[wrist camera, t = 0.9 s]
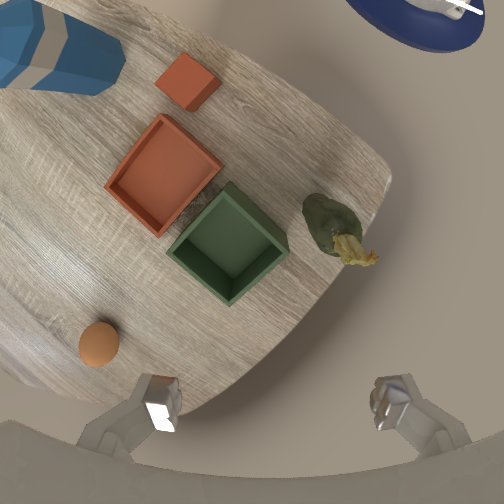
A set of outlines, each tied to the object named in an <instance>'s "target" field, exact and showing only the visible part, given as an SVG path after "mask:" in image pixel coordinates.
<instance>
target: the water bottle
mask: <svg viewBox="0 0 504 504" xmlns="http://www.w3.org/2000/svg"><path fill="white" fill-rule="evenodd" d="M125 61H126V60H125V56H124V53H123V50H122V47H121V44H120V41H119V40H117V39H116V38H114V37H112V36H110V35H108V34H106V33H104V32H102V31H100V30H98V29H96V28H94V27H92V26H90V25H88V24H86V23H84V22H82V21H80V20H78V19H76V18H74V17H72V16H69V15H67V14H65V13H63V12H61V11H58V10H56V9H54V8H51V7H49V6H47V5H44V4H42V3H39V2H37V1H34V0H10V1H8V2H6V3H4V4H2V5H0V88H12V89H32V90H46V91H57V92H67V93H76V94H84V95H91V96H95V95H97V94H98V93H100V92H102V91H103V90H105V89H107V88H108V87H110V86H112V85H114V84H115V82H116V80H117V78H118V76H119V74H120V71H121V69H122V67H123V65H124V63H125Z"/></svg>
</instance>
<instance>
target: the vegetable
mask: <svg viewBox="0 0 504 504" xmlns="http://www.w3.org/2000/svg"><path fill="white" fill-rule="evenodd" d="M302 213H303V215H304V217H305V221H306V223H307V225H308V229H309V231H310V233H311V235H312V237H313V239H314V240H315V242H316V244H317V245H318V247H319V248H320V250H321V251H323V252H324V253H326V254H329V255H331V256H334V257H341V261H342V262H343V263H344V264H351V265H354V264H356V263H357V264H360V265H362V266H369V265H370V264H372V265H373V264H374V263H375V262H377V259H378V257H377V256H376V255H375V253H374V250H373V251H372V252H371V254H370V255H369V256H368V255H366V254H365V252H364V250H363V247H362V246H361V241H362V226H361V223H360V221H359V219H358V218H357V216H356V215H355V213H354V212H353V211H352V210H351V209H350V208H348V207H347V206H345V205H343V204H341V203H339V202H337V201H335V200H333V199H329V198H328V197H327V196H325V195H323V194H320V193H315V194H311V195H309V196H308V197H307V198H306V199H305V200H304V202H303V209H302Z"/></svg>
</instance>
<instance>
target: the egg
mask: <svg viewBox="0 0 504 504" xmlns="http://www.w3.org/2000/svg"><path fill="white" fill-rule="evenodd" d="M118 348H119V337H118V334H117V332H116V330H115V329H114V328H113V327H112V326H111V325H109V324H107V323H104V322H97V323H93V324H91V325H90V326H88V327H87V328H86V329H85V330H84V332H83V333H82V335H81V337H80V341H79V354H80V357H81V359H82V361H83V362H84V363H85V364H86V365H88V366H90V367H100V366H103V365H105V364H107V363H109V362H110V361H111V360H112V359H113V358H114V357H115V355H116V353H117V351H118Z"/></svg>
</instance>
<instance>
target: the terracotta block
mask: <svg viewBox="0 0 504 504" xmlns="http://www.w3.org/2000/svg"><path fill="white" fill-rule="evenodd" d="M154 84H155V85H156V86H157V87H158V88H159V89H161V90H162V91H163V92H164V93H165V94H167V95H168V96H169V97H170V98H171V99H173V100H174V101H175V102H176V103H177V104H178V105H180V106H181V107H182V108H183V109H185V110H188V111H192V112H195V111H196V110H197V109H198V108H199V107H200V106H201V105H202V103H203V102H204V101H205V100H206V99H207V98H208V97H209V96H210V95H211V94H212V93H213V92H214V91H215V90H216V89H217V88H218V87H219V86H220V85H221V83H220V81H219V80H218V79H217V78H216V77H215V76H214V75H213V74H212V73H210V72H209V71H208V70H207V69H205V68H204V67H203V66H202V65H200V64H199V63H198V62H197V61H195V60H194V59H193V58H192V57H190V56H189V55H188V54H187V53H185V52H183V53H182V54H181V55H180V56H179V57H178V58H177V59H176V60H175V61H174V62H173V63H172V64H171V66H170V67H169V68H168V69H167V70H166V71H165V72H164V73H163V74H162V75H161V76H160V78H159V79H158V80H157V81H156V82H155V83H154Z"/></svg>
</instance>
